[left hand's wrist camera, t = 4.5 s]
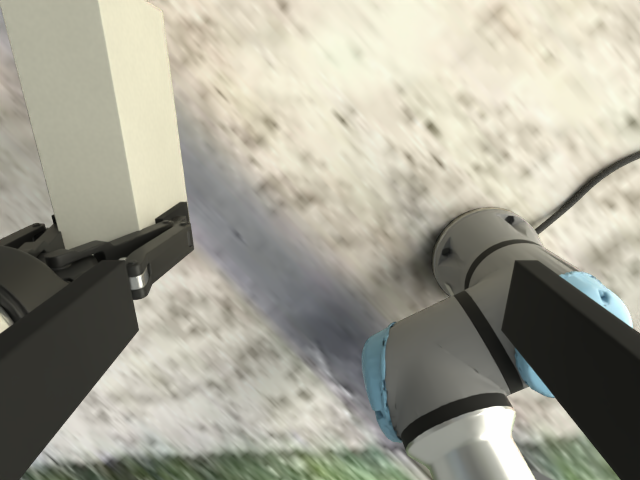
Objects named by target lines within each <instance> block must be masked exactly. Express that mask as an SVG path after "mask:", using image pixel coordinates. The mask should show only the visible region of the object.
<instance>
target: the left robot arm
mask: <svg viewBox="0 0 640 480" xmlns="http://www.w3.org/2000/svg"><path fill="white" fill-rule="evenodd" d="M639 158H640V152H637V153H635V154H633V155H630V156H628V157H626V158H624V159H622V160H620V161H618V162H617V163H615V164H613V165H612V166H610V167H608V168H607V169H605V170H604V171H602V172H601V173H600V174H598V175H597V176H596V177H595V178H593V179H592V180H591V181H590V182H589V183H587V184H586V185H585V186H584V187H583V188H582V189H581V190H580V191H579V192H578V193H577V194H576V195H575V196H574V197H573V198H572V199H571V200H569V201H568V202H567V203H566V204H565V205H564V206H563V207H562V208H560V209H559V210H558V211H557V212H556V213H554V214H553V215H552V216H551V217H550V218H548V219H547V220H546V221H545V222H543V223H542V224H541V225H540V226H538V227H537V228H536V229H535V230H534V228H533V227H532V226H531V225H530V224H529V223H528V222H527V221H526V220H525V219H523V218H522V217H520V216H519V215H517V214H515V213H513V212H511V211H509V210H506V209H502V208H495V207H486V208H479V209H475V210H472V211H469V212H467V213H465V214H463V215H461V216H459V217H458V218H456V219H455V220H453V221H452V222H451V223H450V224H449V225H448V226H447V227H446V228H445V229H444V230H443V231H442V233H441V234H440V236H439V237H438V239H437V241H436V243H435V246H434V249H433V253H432V269H433V273H434V276H435V278H436V280H437V282H438V284H439V285H440V287H441V288H442V289H443V291H444V292H445V293H446V294H448V295H449V296H450V297H449V298H447V299H445V300H443V301H441V302H438V303H436V304H434V305H432V306H430V307H428V308H426V309H424V310H422V311H420V312H418V313H415V314H413V315H411V316H409V317H407V318H405V319H403V320H401V321H399V322H393V323H391V324H390V325H389V326H388V327H387V328H386V329H384V330H382V331H380V332H378V333H377V334H375V335H373V336H371V337H370V338H369V339H368V340H367V341H366V343H365V345H364V348H363V351H362V371H363V377H364V383H365V387H366V391H367V395H368V398H369V401H370V404H371V407H372V409H373V410H374V411H375V414H376V418H377V422H378V424H379V426H380V428H381V430H382V431H383V433H384V434H385V435H386V437H387V438H388V439H390V440H391V441H393V442H399V443H401V442H403V444H404V447H405V450H406V452H407V455H408V456H409V457H411V458H413V459H414V460H416V461H418V462H420V463H421V464H423V465H425V466H426V467H427V468H428V469H429V470H430V473H431V475H432V478H433V480H536V479H535V477H534V476H533V474H532V472H531V470H530V469H529V467H528V465H527V463H526V461H525V460H524V458H523V456H522V454H521V453H520V451H519V449H518V447H517V446H516V444H515V442H514V440H513V437H512V431H513V426H514V422H515V418H516V412H515V410H514V409H513V407H512V405H511V404H510V402H509V400H508V399H507V396H508V395H510V394H512V393H515V392H517V391H520V390H522V389H524V388H527V387H530V388H531V389H533V390H535V391H537V392H538V393H540V394H542V395H544V396H547V397H551V398H556V399H557V401H558V402H559V403H560V404H561V406H562V407H563V408H564V409H565V411H566V412H567V413H568V414H569V416H570V417H571V418H572V419H573V421H574V422H575V423H576V424H577V425H578V427H579V428H580V429H581V430H582V432H583V433H584V434H585V435H586V437H587V438H588V439H589V440H590V442H591V443H592V444H593V445H594V447H595V448H596V449H597V450H598V452H599V453H600V454H601V455H602V457H603V458H604V459H605V460H606V462H607V463H608V464H609V465H610V467H611V468H612V469H613V470H614V472H615V473H616V474H617V475H618V477H619V478H620V479H621V480H640V333H639V332H637V331H636V330H634V329H633V325H632V320H631V316H630V314H629V311H628V309H627V307H626V306H625V304H624V303H623V302H622V300H621V299H620V298H619V297H618V296H617V295H615V294H614V293H613V292H612V291H610V290H609V289H608V288H606V287H605V286H604V285H602V284H601V282H600V281H599V280H597V279H596V278H595V277H594V276H592V275H590V274H588V273H585V272H583V271H581V270H580V269H578V268H577V267H575V266H573V265H572V264H570V263H568V262H567V261H565V260H564V259H562V258H560V257H559V256H557V255H555V254H554V253H552V252H551V251H549V250H547V249H546V248H544V246H543V244H542V242H541V240H540V238H539V236H538V234H539V233H541V232H542V231H543V230H544V229H546V228H547V227H548V226H549V225H551V224H552V223H553V222H554V221H555V220H557V219H558V218H559V217H560V216H561V215H563V214H564V213H565V212H566V211H567V210H569V209H570V208H571V207H572V206H573V205H574V204H575V203H576V202H577V201H578V200H579V199H581V198H582V197H583V196H584V195H585V194H586V193H587V192H588V191H589V190H590V189H591V188H592V187H593V186H595V185H596V184H597V183H598V182H599V181H601V180H602V179H603V178H605V177H606V176H608V175H609V174H610V173H612V172H614V171H615V170H617V169H619V168H620V167H622V166H624V165H626V164H628V163H630V162H632V161H634V160H637V159H639ZM138 331H139V328H138V323H137V318H136V313H135V308H134V303H133V298H132V293H131V288H130V283H129V278H128V273H127V268H126V263H125V260H102V261H100V262H99V263H98V264H96V265H95V266H93V267H92V268H91V269H89V270H88V271H86V272H85V273H84V274H82V275H81V276H79V277H78V278H77V279H75V280H74V281H72V282H71V283H70V284H68V285H67V286H65V287H64V288H63V289H61V290H60V291H59V292H57V293H56V294H54V295H53V296H52V297H50V298H49V299H47V300H46V301H45V302H43V303H42V304H40V305H39V306H38V307H36V308H35V309H33V310H32V311H31V312H29V313H28V314H26V315H25V316H24V317H22V318H21V319H19V320H18V321H17V322H15V323H14V324H13V325H11V326H10V327H8V328H7V329H6V330H4V331H3V332H1V333H0V480H19V479H20V478H21V477H22V475H23V474H24V473H25V472H26V470H27V469H28V468H29V467H30V465H31V464H32V463H33V462H34V460H35V459H36V458H37V457H38V455H39V454H40V453H41V452H42V450H43V449H44V448H45V447H46V445H47V444H48V443H49V442H50V440H51V439H52V438H53V437H54V435H55V434H56V433H57V432H58V430H59V429H60V428H61V427H62V425H63V424H64V423H65V422H66V421H67V419H68V418H69V417H70V416H71V414H72V413H73V412H74V411H75V409H76V408H77V407H78V406H79V404H80V403H81V402H82V401H83V399H84V398H85V397H86V396H87V394H88V393H89V392H90V391H91V389H92V388H93V387H94V386H95V384H96V383H97V382H98V381H99V379H100V378H101V377H102V376H103V374H104V373H105V372H106V371H107V369H108V368H109V367H110V366H111V364H112V363H113V362H114V361H115V359H116V358H117V357H118V356H119V354H120V353H121V352H122V351H123V349H124V348H125V347H126V346H127V344H128V343H129V342H130V341H131V339H132V338H133V337H134V336H135V334H136V333H137V332H138Z"/></svg>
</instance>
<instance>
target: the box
mask: <svg viewBox="0 0 640 480" xmlns="http://www.w3.org/2000/svg"><path fill="white" fill-rule="evenodd" d="M0 6H1V10H2V14H3V18H4V22H5V26H6V29H7V33H8V37H9V41H10V45H11V49H12V53H13V56H14V60H15V64H16V68H17V72H18V76H19V80H20V83H21V87H22V91H23V95H24V99H25V103H26V107H27V110H28V114H29V118H30V122H31V126H32V130H33V134H34V138H35V141H36V145H37V149H38V153H39V157H40V161H41V165H42V168H43V172H44V176H45V180H46V184H47V188H48V192H49V195H50V199H51V203H52V207H53V211H54V215H55V219H56V223H57V226H58V230H59V231H61V234H62V238H63V242H64V245H65V249H68V250H69V249H71V248H74V247H77V246H80V245H82V244H85V243H88V242H91V241H94V240H98V241H105V242H109V241H112V240H114V239H117V238H120V237H122V236H125V235H128V234H130V233H133V232H135V231H140V230H142V229H143V228H146V227H149V226H151V225H154V224H156V223H155V218H157V217H158V216H160V215H161V214H163V213H164V212H166V211H167V210H169V209H170V208H172V207H173V206H175V205H176V204H178V203H179V202H187V196H186V188H185V181H184V173H183V165H182V158H181V150H180V142H179V135H178V127H177V119H176V112H175V104H174V97H173V89H172V81H171V74H170V66H169V58H168V51H167V43H166V35H165V28H164V20H163V12H162V10H160V9H159V8H157V7H155V6H154V5H152V4H150V3H149V2H147V1H145V0H0ZM187 205H188V204H187ZM188 213H189V211H188ZM189 220H190V219H189ZM92 255H93V254H92ZM93 256H94V255H93Z"/></svg>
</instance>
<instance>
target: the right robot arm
mask: <svg viewBox="0 0 640 480" xmlns="http://www.w3.org/2000/svg"><path fill="white" fill-rule="evenodd" d="M52 219H53V223H54V224H53V225H52V226H51V227H50V228H45V224H39V223H35V224H33V225H30V226H28V227H26V228H24V229H21V230H19V231H17V232H15V233H13V234H11V235H9V236H7V237H5V238H3V239H1V240H0V333H1V332H3V331H4V330H6V329H7V328H8V327H10V326H11V325H13V324H14V323H15V322H17V321H18V320H19V319H21V318H22V317H24V316H25V315H26V314H28V313H29V312H31V311H32V310H33V309H35V308H36V307H38V306H39V305H40V304H42V303H43V302H45V301H46V300H47V299H49V298H50V297H52V296H53V295H54V294H56V293H57V292H59V291H60V290H61V289H63V288H64V287H65V286H67V285H68V284H70V283H71V282H72V281H74V280H75V279H77V278H78V277H79V276H81V275H82V274H84V273H85V272H86V271H88V270H89V269H91V268H92V267H93V266H95V265H96V264H98V263H99V262H100V261H102V260H125V263H126V268H127V273H128V278H129V283H130V288H131V293H132V298H133V300H138V299H142V298H144V297H146V296H147V295H148V293H149V291H150V288H151V286H152V284H153V283H154V282H155V281H157V280H158V279H159V278H160V277H161V276H163V275H164V274H165V273H166V272H167V271H169V270H170V269H171V268H172V267H173V266H175V265H176V264H177V263H178V262H179V261H181V260H182V259H183V258H184V257H185V256H187V255H188V254H189V253H190V252H191V251H193V250H194V246H193V238H192V230H191V224H190V220H189V213H188V205H187V202H179V203H178V204H176V205H175V206H173V207H172V208H170V209H169V210H167V211H166V212H164V213H163V214H161V215H160V216H158V217H157V218H155V223H156V224H154V225H151V226H149V227H146V228H143V229H142V230H140V231H135V232H133V233H130V234H128V235H125V236H122V237H120V238H117V239H114V240H112V241H109V242H105V241H98V240H94V241H91V242H88V243H85V244H82V245H80V246H77V247H74V248H71V249H69V250H68V249H65V245H64V242H63V238H62V234H61V231H59V230H58V226H57V223H56V219H55V215H52ZM92 254H93V255H94V256H93V255H92Z"/></svg>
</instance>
